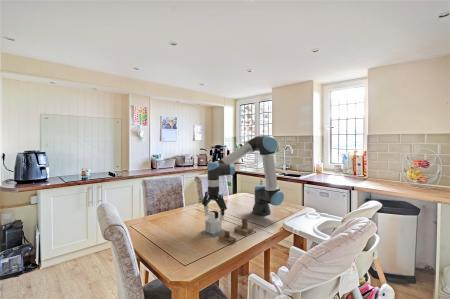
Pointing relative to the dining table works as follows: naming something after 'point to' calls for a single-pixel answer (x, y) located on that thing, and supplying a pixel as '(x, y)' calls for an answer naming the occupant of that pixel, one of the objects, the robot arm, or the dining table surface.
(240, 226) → the pair of wooden stands
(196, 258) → the dining table surface
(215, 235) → the plate
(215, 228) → the container
